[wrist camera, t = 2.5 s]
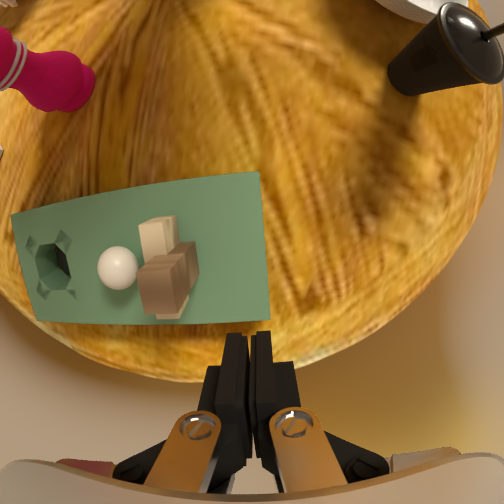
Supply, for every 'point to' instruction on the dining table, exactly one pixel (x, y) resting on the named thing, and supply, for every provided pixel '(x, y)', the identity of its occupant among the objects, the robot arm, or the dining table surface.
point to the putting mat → (127, 235)
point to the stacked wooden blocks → (165, 268)
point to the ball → (117, 267)
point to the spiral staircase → (9, 3)
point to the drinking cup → (449, 54)
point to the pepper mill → (44, 75)
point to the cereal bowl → (417, 8)
